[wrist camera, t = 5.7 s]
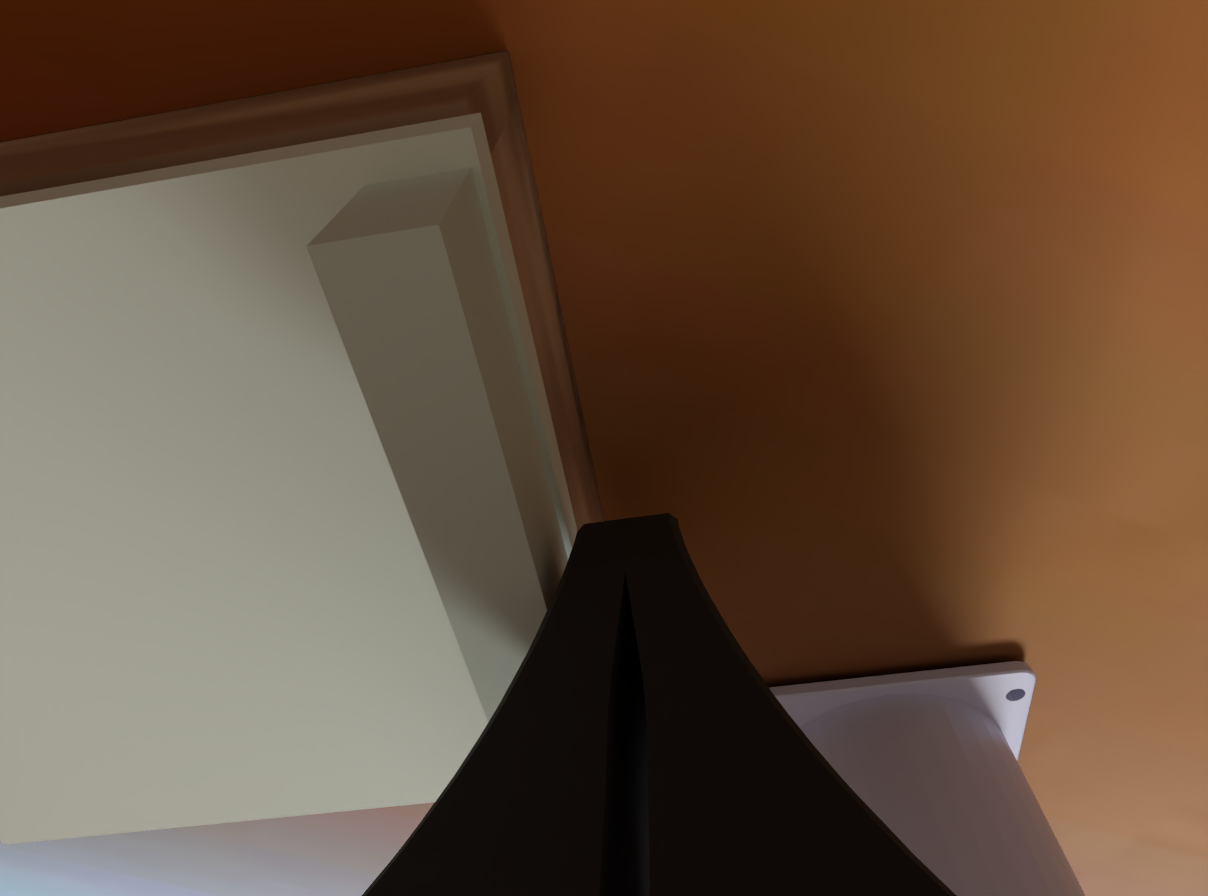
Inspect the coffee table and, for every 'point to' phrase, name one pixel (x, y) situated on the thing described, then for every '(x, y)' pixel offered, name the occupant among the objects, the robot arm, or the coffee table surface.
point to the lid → (265, 484)
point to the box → (337, 115)
